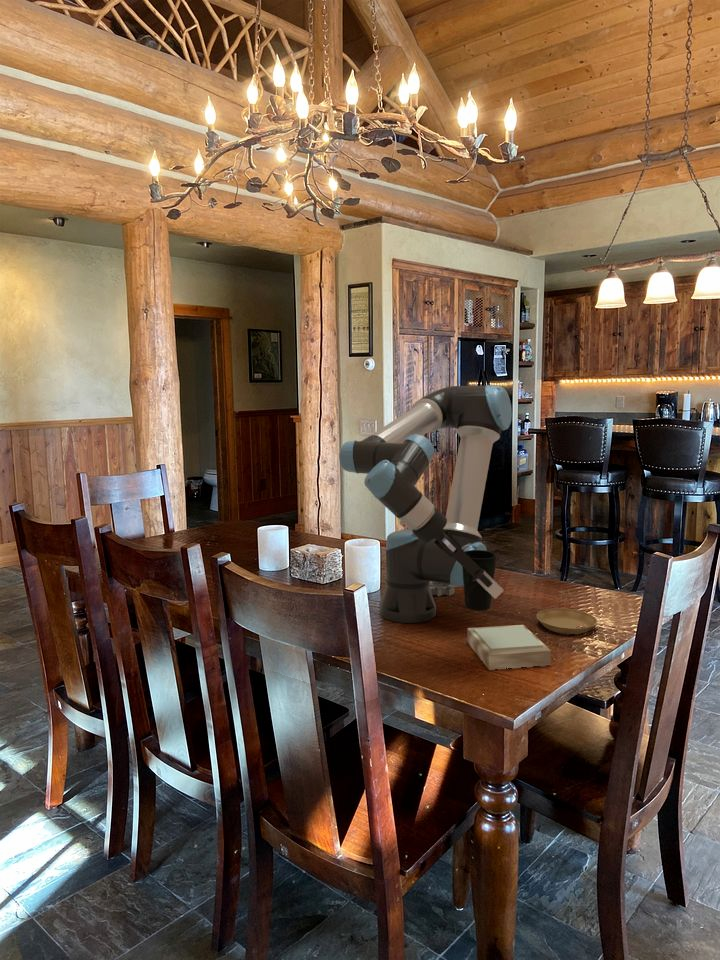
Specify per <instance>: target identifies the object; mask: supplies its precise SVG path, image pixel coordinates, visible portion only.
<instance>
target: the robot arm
mask: <svg viewBox="0 0 720 960" xmlns="http://www.w3.org/2000/svg"><path fill="white" fill-rule="evenodd" d="M512 411H513V410H512V403H511V400H510V396H509V393H508V392H507V390H506V389H505V388H504V387H502V386H500V385H489V384H487V385H486V384H485V385H460V386H459V385H451V386H446V387H442V388H440V389H437V390H435V391H433V392H430V393H428V394H427V395H424V396H423V397H421V398H420V399H417V400H416V401H415V402H414V403H413V405H412V407H411V409H409V410H408V411H406V412H404V413H403V414H401V415H400V416H398V417H397V418H395V419H394V420H393V421H391V422H389V423H388V424H386V425H384V426H383V427H381V428H380V429H378V430H377V431H375V432H374V433H372V434H371V435H369V436H367V437H366V438H364V439H362V440H349V441H346V442H344V443H343V444H342V446H341V447H340V449H339V455H338V457H339V463H340V467H341V468H342V469H343V470H344V471H345V472H347V473H355V474H366V476H365V478H364V483H363V484H364V485H365V487H366V488H367V489H368V491H369V493H371V494H372V495H373V497H374V498H375V499H376V500H378V501H379V502H380V503H381V504H382V505H383V506H384V507H385V508H387V510H389V511H390V513H392V514H393V515H394V516H395V517H396V518H397V519H398V520H399V522H398V523H399V525H400V526H403V525H404V526H405V527H406V528H407V529H405V528H404V529H400V530H396V531H393V532H391V533H389V534H388V535H387V537H386V544H385V545H386V546H385V556H386V557H385V561H386V562H385V565H386V567H385V568H386V573H385V575H386V579H385V581H386V584H385V585H386V587H385V590H384V593H383V596H382V599H381V601H380V602H381V603H380V604H379V605H380V607H379V614H381V615H380V616H381V617H382V618H384V619H386V620H387V621H390V622H393V623H394V622H395V623H401V624H403V623H404V624H416V623H417V624H418V623H423V622H424V623H425V622H426V621H429V620H432V619H434V618H435V617H436V614H437V609H436V608H437V605H436V603H435V600H434V597H433V596H434V595H432V593H431V590H430V587H429V582H438V583H443V584H449V585H453V586H455V587H463V588H464V583H463V569H462V566H463V567H464V568H465V569H466V570H467V571H468V572H469V573H470V574H471V575H472V576H473V579H472V581H473V582H474V581H475V580H476V581H477V582H478V583H479V584H480V585H481V586H482V587H483V588H484V589H485V590H487V591H488V592H489V593H490V594H491V595H492V597H493V599H495V600H496V599H497V598H498V597H499V596H500V595H501V594H502V593H503V592H504V591H505V590H504V588H503V587H501V586H500V584H499V583H497V581H495V580H493V579H492V578H491V577H490V576H489V575H488V574H487V573H486V572H485V571H484V570H483V569H482V568H480V567H479V566H478V565H477V564H476V563H475V562H474V561H473V560H472V559H471V558H470V557H469V556H468V555H467V554H466V553H465V551H469V550H484V551H488V550H487V549H488V548H487V546H486V545H485V544H484V543H483V542H482V540H483V539H482V538H483V537H482V535H481V534H480V533H479V531H478V528H479V522H480V517H481V511H482V505H483V500H484V494H485V490H486V483H487V479H488V471H489V466H490V463H491V462H490V461H491V456H492V455H491V454H492V449H493V446H494V445H493V444H494V443H495V442H497V441H498V440H500V438H501V432H502V431H505V430H508V429H509V428H510V426H511V424H512V419H513V416H512V415H513V414H512V413H513V412H512ZM439 429H440V430H441V429H456V433H457V434H458V436H459V438H460V439H459V440H460V442H459V444H458V445H459V446H458V451H457V457H456V461H455V467H454V472H453V478H452V482H451V487H450V494H449V496H448V497H449V498H448V504H447V509H446V515H444V513H442V512H441V511H440V510H439V509H438V508H437V507H436V508H435V506H434V505H435V504H433V503H432V502H431V501H430V500H429V498H428V497H426V495H424V494H423V492H421V491H420V490H419V489H418V488H417V487H416V484H417V483H418V482H419V480H420V478H421V477H422V476H423V474H424V472H425V471H426V470H427V469H428V467H429V466H430V463H431V461H432V459H433V457H434V456H435V455H434V454H435V447H434V445H433V443H432V442H431V440H430V439H428V438H427V437H426V436H424V435H426V434H427V433H430V434H431V433H435V432H436V431H438V430H439Z"/></svg>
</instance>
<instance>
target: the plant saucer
mask: <svg viewBox="0 0 720 960" xmlns="http://www.w3.org/2000/svg"><path fill="white" fill-rule="evenodd" d="M536 619H537V620H538V621H539V622H540V624H541V625H542V626H543V627H545V628H546V629H547V630H548V631H551V632H553V633H557V634H562V635H570V634H575V635H582V634H581V633H583V634H585V633H587V632H588V631H590V630H591V629H593V628H594V627H595V626H596V625H597V623H598V619H597V617H595V616H594V615H592V614H591V613H588V612H585V611H583V610H578V609H571V608H562V607H561V608H560V607H558V608H556V607H554V608H547V609H542V610H540V611H539V612H537V614H536ZM584 624H585V625H587V626H588V627H585V628H581V627H580V628H576V627H578V626H581V625H582V626H583V627H584V626H585V625H584Z"/></svg>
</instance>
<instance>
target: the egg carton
mask: <svg viewBox="0 0 720 960" xmlns="http://www.w3.org/2000/svg"><path fill="white" fill-rule="evenodd" d="M429 587H430V590H431V593H432V596H435V595H437V596H436V597H441V596H443V595H444V596H445V595H446V596H448V597H449V596H453V595H454V594H455V588H456V586H453V585H449V584H443V583H438V582H432V581H429Z"/></svg>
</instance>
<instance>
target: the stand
mask: <svg viewBox="0 0 720 960" xmlns="http://www.w3.org/2000/svg"><path fill="white" fill-rule="evenodd" d="M466 638H467V641H466V642H467V644H468V645H469V646H470V647H471V649H472V650H473V651H474V652H475V654H476V655H477V657H478V658H479V659H480V661H481V662H482V661H483V662H482V663H483V664H484V666H485V667H486V669H488V670H489V671H496V670H495V669H498V670H509V669H508V668H512V669H522V668H521V667H527V668H534V667H533V666H541V667H544V666H543V665H551V663H552V662H551V661H552V660H551V659H552V650H551V649H550V648H549V647H548V646H547V645H546V644H545V643H544V642H542V641H541V640H540V639H539V638H538V637H537V636H536V635H535V634H534V633H533V632H531V631H530V630H529V629H528V628H527V626H526V625H524V624H516V625H499V626H483V627H468V628H467V637H466ZM506 668H507V669H506Z"/></svg>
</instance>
